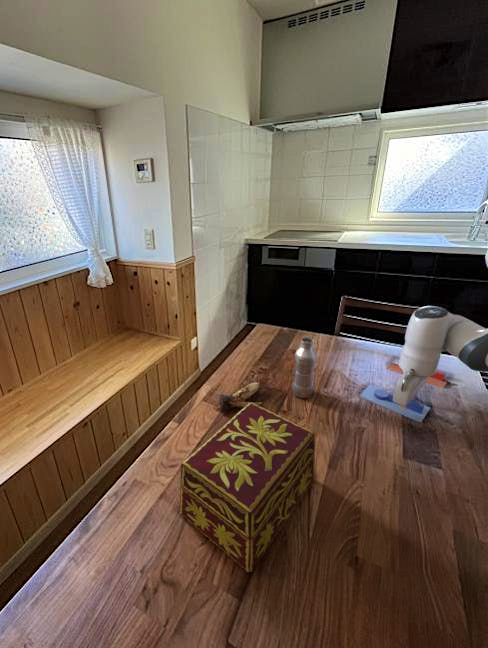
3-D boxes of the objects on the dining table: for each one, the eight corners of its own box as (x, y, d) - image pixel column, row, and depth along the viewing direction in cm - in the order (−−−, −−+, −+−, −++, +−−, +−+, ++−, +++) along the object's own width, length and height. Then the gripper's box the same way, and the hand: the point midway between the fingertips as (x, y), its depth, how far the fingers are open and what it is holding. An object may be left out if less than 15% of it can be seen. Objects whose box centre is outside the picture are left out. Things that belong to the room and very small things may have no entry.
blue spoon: (423, 409, 98) (425, 402, 97) (419, 415, 96) (421, 409, 95) (376, 390, 107) (378, 384, 106) (371, 396, 105) (372, 390, 104)
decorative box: (250, 575, 62) (251, 522, 56) (178, 513, 74) (173, 464, 68) (315, 479, 80) (321, 430, 74) (249, 441, 92) (250, 397, 86)
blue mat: (429, 409, 99) (430, 407, 99) (421, 422, 94) (421, 421, 94) (369, 385, 111) (370, 384, 111) (359, 396, 106) (359, 395, 106)
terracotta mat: (450, 377, 112) (451, 376, 112) (443, 388, 107) (444, 386, 107) (394, 359, 124) (395, 358, 124) (386, 368, 119) (386, 367, 119)
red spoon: (445, 377, 111) (446, 371, 110) (441, 382, 109) (443, 376, 108) (401, 363, 120) (403, 357, 119) (397, 368, 118) (398, 362, 117)
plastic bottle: (292, 399, 107) (296, 344, 99) (291, 387, 113) (295, 334, 104) (313, 402, 105) (320, 346, 97) (311, 389, 111) (317, 335, 103)
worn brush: (233, 425, 99) (273, 398, 108) (233, 413, 97) (274, 386, 106) (212, 408, 105) (252, 384, 115) (212, 397, 103) (252, 373, 113)
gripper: (418, 383, 85) (407, 425, 91) (442, 353, 97) (430, 392, 103) (391, 374, 90) (382, 414, 95) (417, 346, 102) (407, 383, 107)
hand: (407, 402), depth 99 cm, fingers open, 7 cm apart
